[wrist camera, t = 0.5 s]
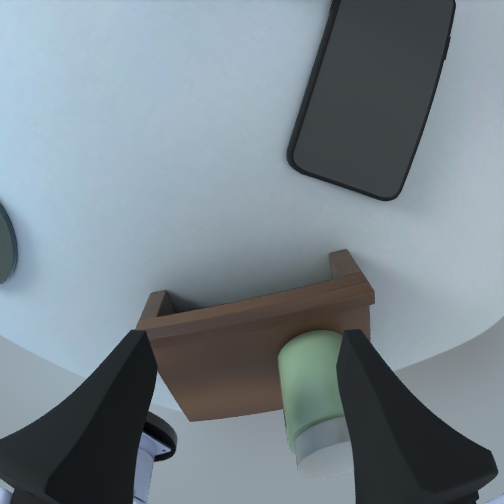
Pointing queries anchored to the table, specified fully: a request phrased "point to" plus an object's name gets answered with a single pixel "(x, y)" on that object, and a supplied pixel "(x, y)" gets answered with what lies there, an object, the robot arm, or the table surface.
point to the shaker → (314, 405)
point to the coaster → (7, 247)
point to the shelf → (248, 340)
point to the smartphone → (371, 93)
